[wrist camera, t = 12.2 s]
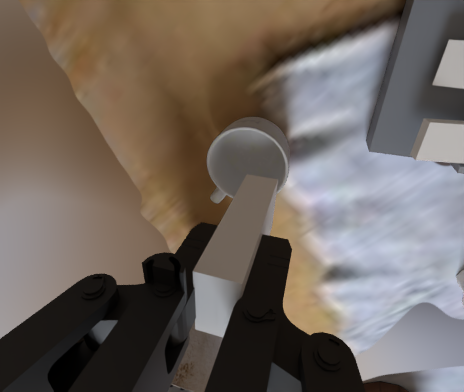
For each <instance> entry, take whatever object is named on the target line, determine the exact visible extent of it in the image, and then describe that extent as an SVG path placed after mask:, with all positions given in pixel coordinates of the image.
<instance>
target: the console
mask: <svg viewBox="0 0 464 392" xmlns="http://www.w3.org/2000/svg"><path fill="white" fill-rule="evenodd" d="M449 39H453V40H464V0H406V3H405V7H404V10H403V13H402V17H401V20H400V24H399V27H398V31H397V34H396V38H395V41H394V45H393V48H392V52H391V55H390V59H389V62H388V66H387V69H386V73H385V76H384V80H383V83H382V87H381V90H380V94H379V97H378V101H377V104H376V108H375V111H374V115H373V118H372V122H371V125H370V129H369V132H368V135H367V139H366V142H367V146H368V149H369V152H377V153H384V154H391V155H399V156H406V157H412V156H411V155H410V153H411V151H412V148H413V145H414V143H415V140H416V137H417V135H418V132H419V130H420V127H421V124H422V122H423V119H424V118H428V119H444V120H459V121H464V89H461V88H453V87H445V86H436V85H432V84H433V81H434V78H435V75H436V72H437V70H438V67H439V64H440V62H441V59H442V56H443V54H444V51H445V48H446V45H447V43H448V40H449ZM449 163H450V162H449ZM450 164H451V165H452V167H453V168H454V169H455V170H456V171H457V173H463V174H464V164H463V163H450Z"/></svg>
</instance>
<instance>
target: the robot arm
mask: <svg viewBox="0 0 464 392" xmlns="http://www.w3.org/2000/svg"><path fill="white" fill-rule="evenodd" d="M277 185H278V179H272V178H266V177H260V176H254V175H248V174H247V175H246V177H245V178H244V180H243V182H242V184H241V186H240V187H239V189H238V191H237V193H236V195H235V196H234V198H233V200H232V202H231V204H230V205H229V207H228V209H227V211H226V212H225V214H224V216H223V218H222V220H221V221H220V223H219V225H218V226H217V225H212V224H207V223H202V222H201V223H200V224H198V225H197V226H195V227H194V228H192V229H191V231H190V232H189V234H188V235H187V237H186V239H185V240H184V241H183V243H182V245H181V246H180V247H179V249H178V250H177V252H176V253H175V254H173V253H159V254H155V255H153V256H150V257H149V258H147V259H146V260H145V261H144V262H142V267H143V273H144V279H145V283H144V284H138V285H117V284H116V280H115V279H114V278H113V277H112V276H110V275H107V274H94V275H90V276H87V277H85V278H84V279H82V280H80V281H79V282H77V283H76V284H74V285H73V286H72V287H70V288H69V289H67V290H66V291H65V292H63V293H62V294H61V295H60V296H58V297H57V298H55V299H54V300H53V301H51V302H50V303H49V304H47V305H46V306H44V307H43V308H42V309H40V310H39V311H38V312H36V313H35V314H33V315H32V316H31V317H29V318H28V319H27V320H25V321H24V322H23V323H21V324H20V325H19V326H17V327H16V328H14V329H13V330H12V331H10V332H9V333H8V334H6V335H5V336H4V337H2V338H1V339H0V392H168V390H169V388H170V386H171V383H172V381H173V379H174V376H175V374H176V372H177V370H178V367H179V365H180V363H181V361H182V358H183V356H184V354H185V352H186V349H187V347H188V344H189V340H190V334H189V332H190V330H191V327H192V325H193V323H194V321H195V329H196V330H199V331H203V332H206V333H209V334H213V335H216V336H219V337H223V339H222V342H221V345H220V348H219V351H218V354H217V357H216V359H215V362H214V365H213V368H212V371H211V374H210V377H209V380H208V382H207V385H206V388H205V391H204V392H365V389H364V385H363V382H362V379H361V376H360V373H359V369H358V366H357V363H356V360H355V357H354V355H353V353H352V351H351V349H350V348H349V347H348V346H347V345H346V344H345V343H344V342H343V341H342V340H341V339H339V338H337V337H336V336H334V335H332V334H328V333H324V332H321V333H313V334H312V335H309V334H307V333H305V332H304V331H302V330H300V329H299V328H297V327H296V326H295V325H293V324H292V323H291V322H290V321H289V319H288V318H287V317H286V315H285V313H284V310H283V297H284V291H285V286H286V280H287V274H288V269H289V263H290V258H291V252H292V248H291V246H290V243H289V241H288V239H283V238H278V237H273V236H269V235H270V231H271V228H272V222H273V214H274V207H275V200H276V192H277Z"/></svg>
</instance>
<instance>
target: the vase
mask: <svg viewBox="0 0 464 392" xmlns="http://www.w3.org/2000/svg"><path fill="white" fill-rule="evenodd" d="M189 334H190V340H189V344H188V347H187V349H186V352H185V354H184V356H183V358H182V361H181V363H180V365H179V367H178V370H177V372H176V374H175V376H174V379H173V381H172V383H171V386H170V388H169V390H168V392H204V391H205V388H206V385H207V382H208V380H209V377H210V374H211V371H212V368H213V365H214V362H215V359H216V357H217V354H218V351H219V348H220V345H221V342H222V339H223V337H219V336H216V335H213V334H209V333H206V332H203V331H199V330H196V329H195V321H194V323H193V325H192V327H191V330H190V332H189Z"/></svg>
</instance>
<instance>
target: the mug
mask: <svg viewBox="0 0 464 392" xmlns="http://www.w3.org/2000/svg"><path fill="white" fill-rule="evenodd" d="M363 385H364V389H365V392H408V391H407V390H405V389H404V388H402V387H401V386H399V385H394V384H389V383H384V382H373V383H367V384H363Z"/></svg>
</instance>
